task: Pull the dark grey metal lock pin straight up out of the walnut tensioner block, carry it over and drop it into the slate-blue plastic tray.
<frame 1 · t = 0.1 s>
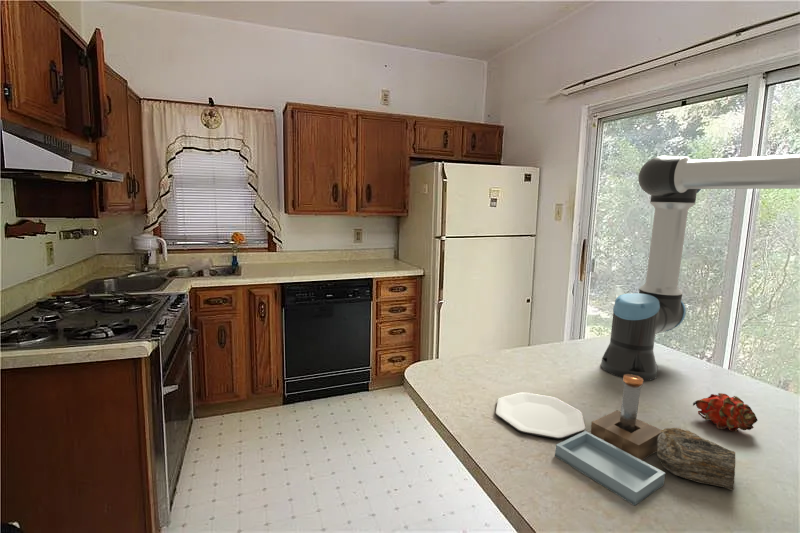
tray: (606, 469, 80), on the counter
stone: (691, 473, 80), on the counter
lock pin: (629, 411, 88), in the tensioner block
tensioner block: (624, 443, 89), on the counter
dragon fruit: (721, 427, 97), on the counter
plate: (538, 418, 99), on the counter
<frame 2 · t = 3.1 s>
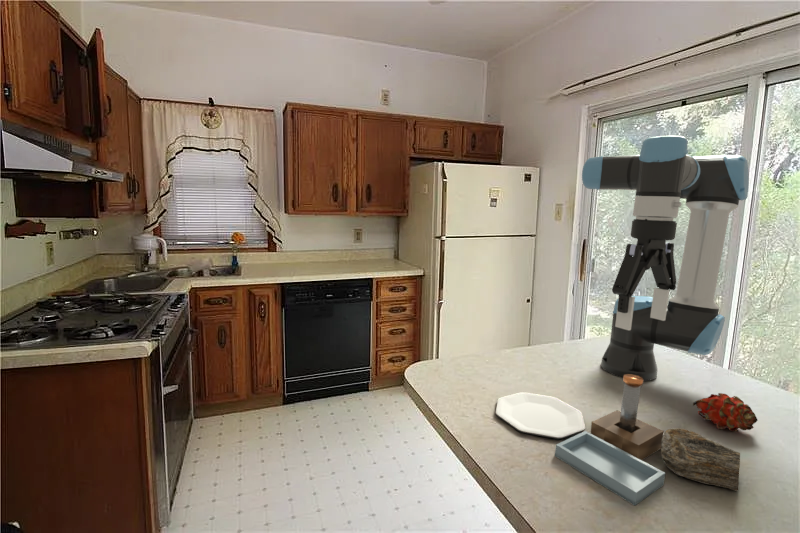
hand: (641, 323, 85), 27 cm above the counter, fingers open, 13 cm apart
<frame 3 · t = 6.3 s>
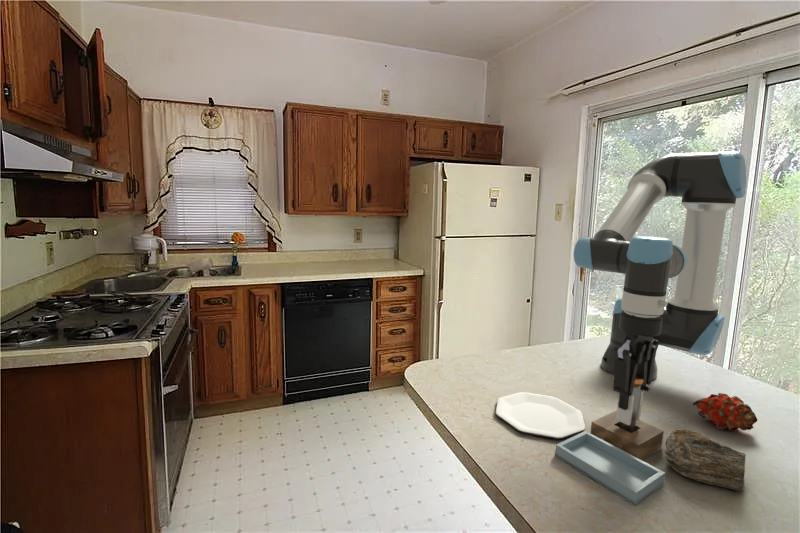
hand: (627, 419, 88), 6 cm above the counter, fingers closed on lock pin, 3 cm apart
lock pin: (629, 411, 88), in the tensioner block, touching gripper
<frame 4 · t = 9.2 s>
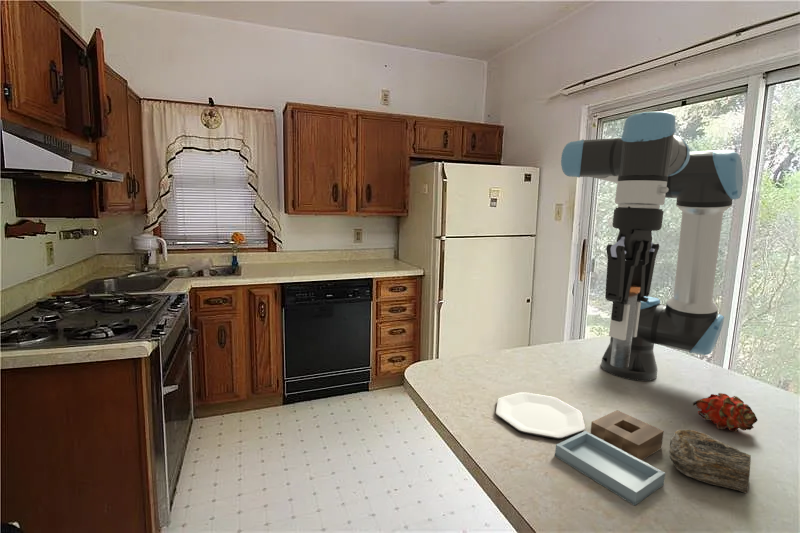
hand: (622, 336, 76), 27 cm above the counter, fingers closed on lock pin, 3 cm apart
lock pin: (624, 326, 76), point 29 cm above the counter, touching gripper
when the fingers open (8 cm above the counter, at t = 12.0 s): lock pin drops 1 cm, resting on tray.
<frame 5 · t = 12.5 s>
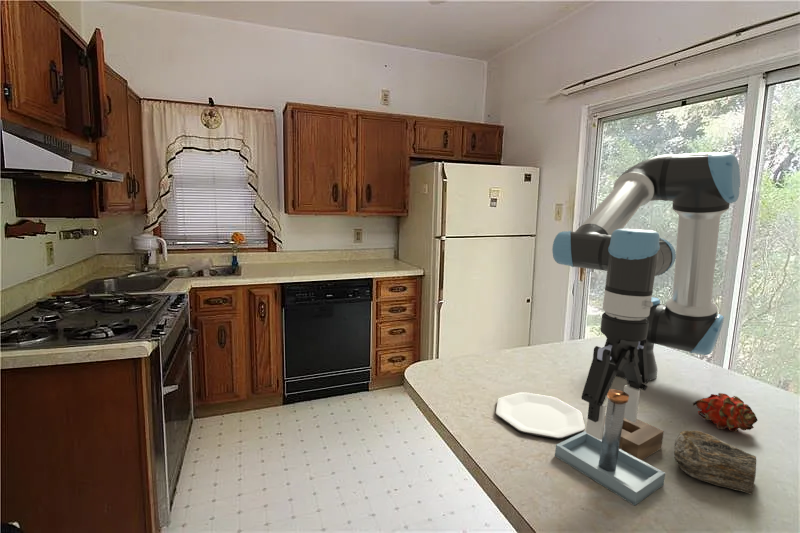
hand: (611, 426, 79), 9 cm above the counter, fingers open, 11 cm apart
lock pin: (612, 430, 79), in the tray, point 8 cm above the counter
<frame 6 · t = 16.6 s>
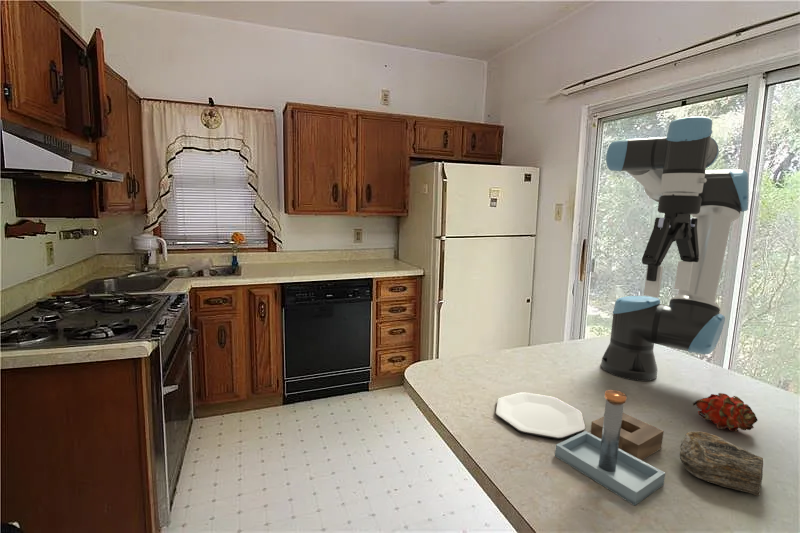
hand: (667, 292, 91), 32 cm above the counter, fingers open, 13 cm apart
at the end: lock pin inside the target area on the tray (0.1 cm from its centre), point 8.1 cm above the tray's base; lock pin moved 12.3 cm from its start; the gripper is holding nothing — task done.
